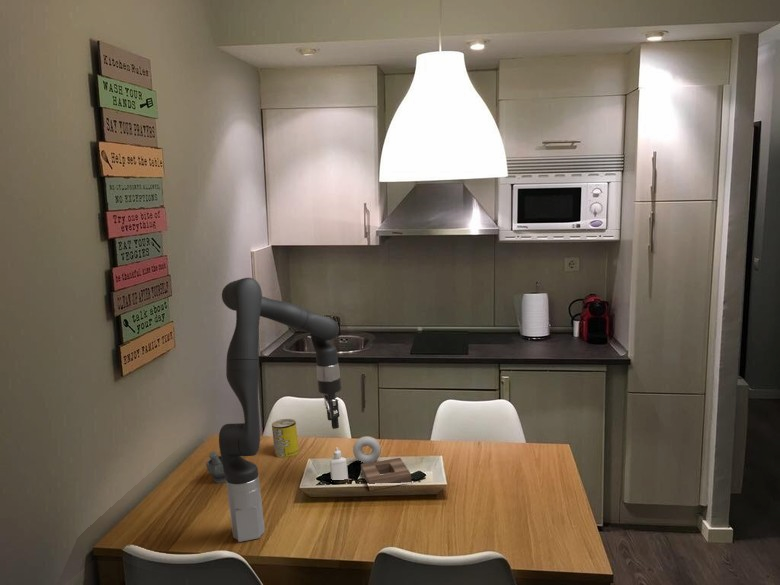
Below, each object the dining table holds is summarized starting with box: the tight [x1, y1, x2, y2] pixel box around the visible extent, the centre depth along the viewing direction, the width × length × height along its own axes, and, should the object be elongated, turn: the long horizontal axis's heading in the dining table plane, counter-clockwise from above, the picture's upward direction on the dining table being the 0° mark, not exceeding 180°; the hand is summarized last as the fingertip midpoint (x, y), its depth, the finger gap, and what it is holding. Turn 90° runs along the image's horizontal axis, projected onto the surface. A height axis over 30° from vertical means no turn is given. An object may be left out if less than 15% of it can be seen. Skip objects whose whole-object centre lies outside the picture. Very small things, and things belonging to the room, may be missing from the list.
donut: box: [352, 436, 382, 464], centre depth 239 cm, size 10×4×10 cm, turn 89°
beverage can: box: [271, 418, 300, 459], centre depth 255 cm, size 9×9×12 cm
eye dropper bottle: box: [329, 446, 349, 480], centre depth 226 cm, size 4×6×12 cm
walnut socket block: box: [360, 457, 412, 484], centre depth 226 cm, size 14×14×4 cm
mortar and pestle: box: [205, 450, 226, 484], centre depth 235 cm, size 11×9×12 cm
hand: (333, 424), depth 224 cm, fingers open, 8 cm apart
